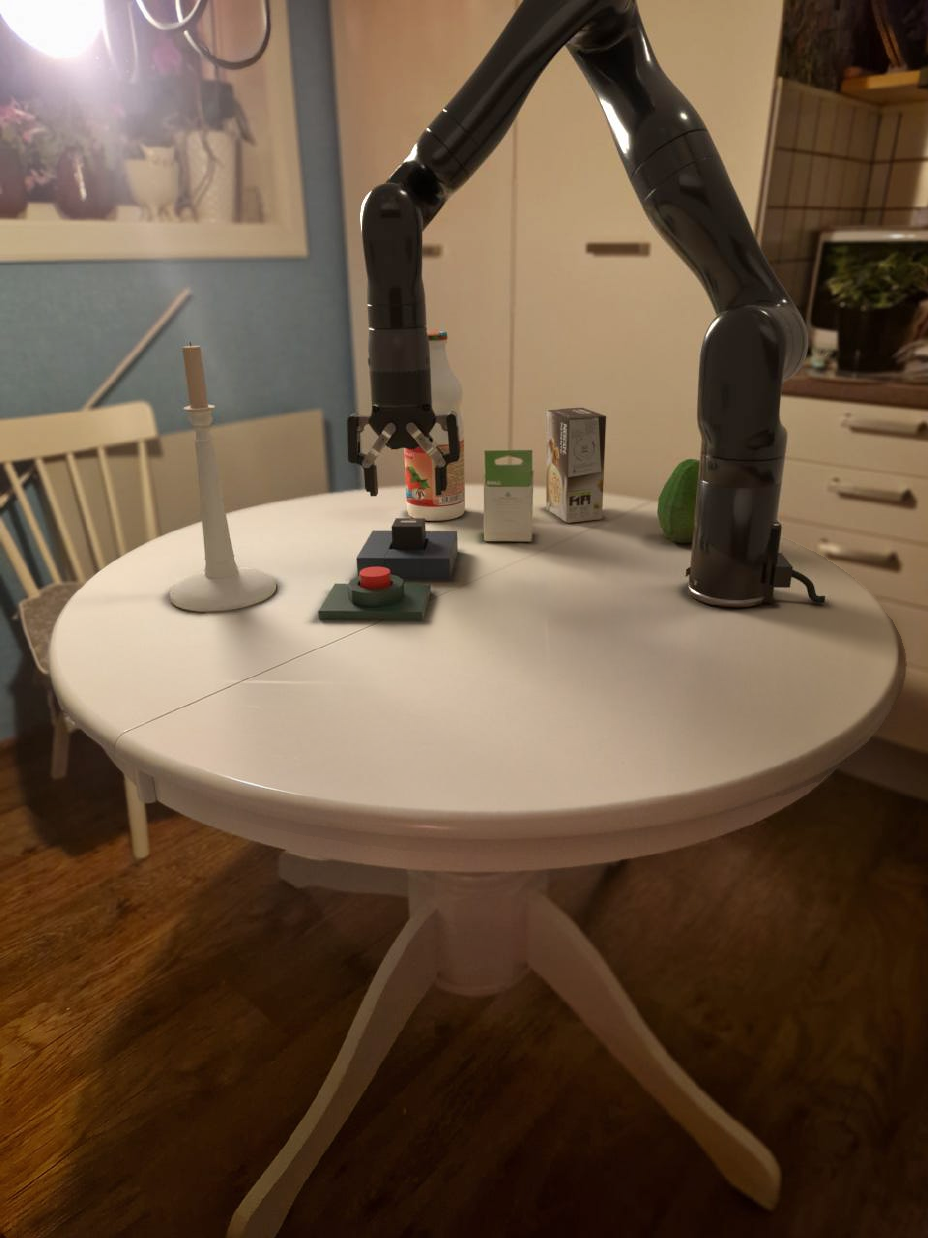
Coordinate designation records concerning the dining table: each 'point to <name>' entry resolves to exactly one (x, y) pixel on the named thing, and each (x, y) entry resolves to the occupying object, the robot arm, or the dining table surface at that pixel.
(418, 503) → the fruit juice
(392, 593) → the red push button plate
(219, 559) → the candlestick
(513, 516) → the ink box
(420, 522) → the block
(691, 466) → the avocado
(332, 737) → the dining table surface
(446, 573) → the square socket block
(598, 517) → the coffee box
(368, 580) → the power button
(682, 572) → the dining table surface
